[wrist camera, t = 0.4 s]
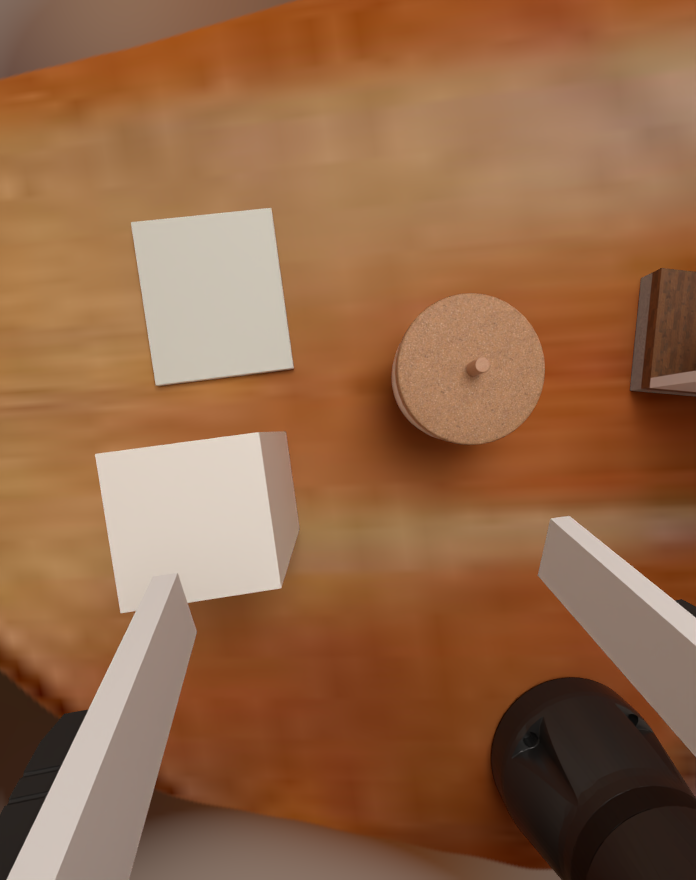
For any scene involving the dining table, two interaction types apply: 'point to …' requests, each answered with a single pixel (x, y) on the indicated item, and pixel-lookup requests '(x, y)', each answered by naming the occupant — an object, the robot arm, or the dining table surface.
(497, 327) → the lidded jar
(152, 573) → the white block
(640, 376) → the display case
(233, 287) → the mat
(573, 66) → the dining table surface
